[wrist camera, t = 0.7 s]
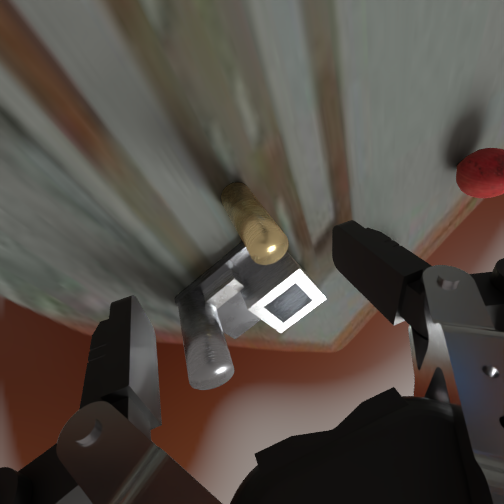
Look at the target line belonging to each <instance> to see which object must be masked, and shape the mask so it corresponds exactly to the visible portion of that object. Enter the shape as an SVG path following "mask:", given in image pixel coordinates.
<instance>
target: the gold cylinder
mask: <svg viewBox="0 0 504 504" xmlns="http://www.w3.org/2000/svg"><path fill="white" fill-rule="evenodd" d="M221 201H222V204H223V206H224V208H225V209H226V211H227V213H228V215H229V217H230V219H231V221H232V223H233V224H234V226H235V228H236V230H237V232H238V234H239V236H240V237H241V239H242V241H243V243H244V245H245V247H246V249H247V251H248V252H249V254H250V256H251V258H252V260H253V261H254V262H256V263H257V264H260V265H269V264H272V263H275V262H277V261H278V260H280V259H281V258H282V257H283V256H284V254H285V253H286V251H287V249H288V239H287V237H286V235H285V234H284V233H283V232H282V230H281V229H280V228H279V227H278V225H277V224H276V223H275V221H274V220H273V219H272V218H271V216H270V215H269V214H268V213H267V211H266V210H265V209H264V207H263V206H262V205H261V204H260V202H259V201H258V200H257V199H256V197H255V196H254V195H253V193H252V192H251V191H250V190H249V188H248V187H247V186H246V185H245V184H243V183H239V182H235V183H231V184H229V185H228V186H226V187H225V189H224V190H223V192H222V195H221Z"/></svg>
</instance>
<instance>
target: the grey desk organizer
mask: <svg viewBox="0 0 504 504" xmlns="http://www.w3.org/2000/svg"><path fill="white" fill-rule="evenodd" d="M324 300H326V297H325V296H324V295H323V293H322V292H321V291H320V289H319V288H318V287H317V285H316V284H315V283H314V281H313V280H312V279H311V278H310V277H309V275H308V274H307V273H306V272H305V271H304V270H303V269H302V268H301V266H300V265H299V264H298V263H297V262H296V261H295V260H294V259H293V257H292V256H291V255H290V254H289V253H288V252H287V251H286V253H285V254H284V256H283V257H282V258H281V259H280V260H278V261H277V262H275V263H272V264H269V265H260V264H257V263H256V262H254V261H253V260H252V258H251V256H250V254H249V252H248V251H247V249H246V247H245V245H244V243H243V241H242V242H241V243H240V244H239V245H237V246H236V247H235V248H234V249H233V250H231V251H230V252H229V253H228V254H227V255H225V256H224V257H223V258H222V259H221V260H219V261H218V262H217V263H216V264H215V265H213V266H212V267H211V268H210V269H209V270H207V271H206V272H205V273H204V274H203V275H201V276H200V277H199V278H198V279H197V280H195V281H194V282H193V283H192V284H191V285H189V286H188V287H187V288H186V289H185V290H183V291H182V292H181V293H180V294H179V295H177V296H176V297H175V302H176V305H178V309H179V316H180V323H181V329H182V336H183V343H184V349H185V356H186V363H187V370H188V377H189V383H190V385H191V386H192V387H193V388H195V389H200V390H207V389H212V388H216V387H218V386H220V385H222V384H224V383H226V382H227V381H228V380H229V379H230V378H231V377H232V375H233V373H234V367H233V363H232V360H231V357H230V353H229V350H228V346H227V343H226V340H225V336H224V333H226V334H228V335H229V336H231V337H233V338H234V339H236V338H238V337H239V336H240V335H241V334H243V333H244V332H245V331H247V330H248V329H249V328H251V327H252V326H253V325H254V324H256V323H257V322H258V321H260V320H261V319H262V320H263V321H264V322H266V323H267V324H269V325H270V326H271V327H273V328H274V329H275V330H277V331H278V332H280V333H282V332H283V331H284V330H286V329H287V328H288V327H290V326H291V325H292V324H294V323H295V322H296V321H298V320H299V319H300V318H302V317H303V316H304V315H306V314H307V313H308V312H310V311H311V310H312V309H314V308H315V307H316V306H318V305H319V304H320V303H322V302H323V301H324ZM223 332H224V333H223Z"/></svg>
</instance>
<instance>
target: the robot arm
mask: <svg viewBox="0 0 504 504" xmlns="http://www.w3.org/2000/svg"><path fill="white" fill-rule="evenodd" d="M332 257H333V262H334V264H335V266H336V268H337V269H338V271H339V272H340V273H341V274H342V275H343V276H344V277H345V278H346V279H347V280H348V281H349V282H350V283H351V284H352V285H353V286H354V287H355V288H356V289H357V290H358V291H359V292H361V293H362V294H363V295H364V296H365V297H366V298H367V299H368V300H369V301H370V302H371V303H372V304H373V305H374V306H375V307H376V308H377V309H378V310H379V311H380V312H381V313H382V314H383V315H384V316H385V317H386V318H387V319H388V320H389V321H390V322H391V323H392V324H393V325H396V324H398V323H401V322H403V321H406V322H407V323H408V324H409V329H408V331H409V339H410V346H411V354H412V362H413V369H414V377H415V378H414V380H415V382H414V383H415V384H414V396H403V397H401V395H400V394H399V393H398V392H397V390H396V389H395V388H394V387H393V388H391V389H389V390H387V391H385V392H382V393H380V394H378V395H376V396H374V397H372V398H370V399H368V400H366V401H364V402H362V403H361V404H360V405H359V406H358V407H357V408H356V409H355V410H354V411H353V412H352V413H351V414H349V415H348V416H347V417H346V418H345V419H344V420H343V421H342V422H341V423H340V424H339V425H338V426H337V427H336V428H334V429H333V430H329V431H323V432H316V433H309V434H303V435H296V436H291V437H289V438H287V439H285V440H282V441H281V442H278V443H276V444H274V445H272V446H270V447H268V448H266V449H264V450H262V451H260V452H258V453H255V457H256V460H257V463H258V465H257V466H256V467H255V468H254V469H253V470H252V471H251V472H250V473H249V474H248V475H247V477H246V478H245V479H244V480H243V482H242V483H241V485H240V486H239V488H238V489H237V491H236V493H235V495H234V497H233V499H232V501H231V503H230V504H504V258H503V259H501V260H499V261H498V262H497V263H496V265H495V267H494V269H493V272H486V273H477V274H468V273H466V272H465V271H463V270H461V269H458V268H456V267H452V266H446V265H436V266H431V265H429V264H428V263H427V262H425V261H424V260H422V259H421V258H419V257H418V256H416V255H415V254H413V253H412V252H410V251H409V250H407V249H406V248H404V247H403V246H399V244H398V243H397V242H395V241H393V240H391V239H390V238H389V237H387V236H386V235H384V234H383V233H381V232H379V231H376V230H373V229H370V228H364V227H362V226H361V225H359V224H358V223H357V222H355V221H353V220H351V221H348V222H345V223H342V224H339V225H336V226H334V228H333V235H332ZM88 361H89V363H87V369H86V374H85V380H84V386H83V393H82V398H81V404H80V409H79V411H77V412H76V413H75V414H74V415H73V416H72V417H71V418H70V419H69V420H68V422H67V423H66V424H65V426H64V428H63V429H62V431H61V433H60V435H59V438H58V441H57V443H56V444H55V445H54V446H52V447H51V448H50V449H48V450H47V451H46V452H44V453H43V454H42V455H40V456H39V457H37V458H36V459H35V460H33V461H32V462H31V463H29V464H28V465H26V466H25V467H24V468H22V469H21V470H20V471H18V472H17V471H15V470H13V469H11V468H8V467H2V468H0V504H222V503H221V502H220V501H219V500H218V499H217V498H216V497H214V496H213V495H212V494H211V493H210V492H209V491H208V490H207V489H206V488H205V487H203V486H202V485H201V484H200V483H199V482H198V481H197V480H196V479H195V478H193V477H192V476H191V475H190V474H189V473H188V472H187V471H186V470H185V469H183V468H182V467H181V466H180V465H179V464H178V463H177V462H176V461H175V460H174V459H172V458H171V457H170V456H169V455H168V454H167V453H166V452H165V451H163V450H162V449H161V448H159V447H157V446H156V445H155V444H154V443H153V442H152V441H151V436H150V430H151V429H153V428H156V427H158V426H160V425H162V424H161V409H160V395H159V379H158V365H157V350H156V337H155V332H154V329H153V326H152V324H151V322H150V320H149V318H148V317H147V315H146V313H145V311H144V310H143V308H142V306H141V305H140V303H139V301H138V299H137V298H136V297H135V296H134V295H132V296H129V297H126V298H123V299H121V300H118V301H115V302H112V303H111V306H110V315H109V319H107V320H104V321H101V322H100V323H99V325H98V327H97V328H96V330H95V332H94V333H93V335H92V340H91V345H90V352H89V357H88Z"/></svg>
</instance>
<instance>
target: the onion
mask: <svg viewBox="0 0 504 504" xmlns="http://www.w3.org/2000/svg"><path fill="white" fill-rule="evenodd" d="M456 182H457V184H458V186H459V188H460V189H461V191H462V192H464V193H465V194H467V195H470V196H473V197H477V198H490V197H494V196H498V195H501V194H504V150H503V149H498V148H485V149H480V150H477V151H476V152H474V153H472V154H470V155H468V156H467V157H465V158H464V159H463V160H462V161H461V162H460V163H459V164H458V165H457V173H456Z"/></svg>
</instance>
